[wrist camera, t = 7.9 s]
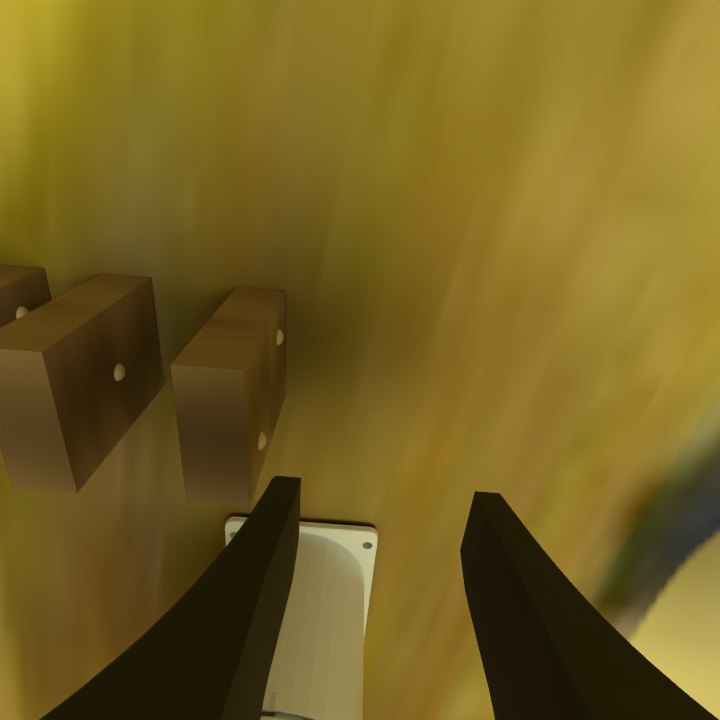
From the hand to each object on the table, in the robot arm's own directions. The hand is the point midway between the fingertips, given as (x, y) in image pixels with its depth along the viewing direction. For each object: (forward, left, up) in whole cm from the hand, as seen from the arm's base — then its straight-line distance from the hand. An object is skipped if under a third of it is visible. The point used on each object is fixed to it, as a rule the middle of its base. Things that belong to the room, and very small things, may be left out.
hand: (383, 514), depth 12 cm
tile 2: (0, +11, -9) cm, 14 cm away
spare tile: (0, +5, -9) cm, 11 cm away
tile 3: (0, +15, -10) cm, 18 cm away
